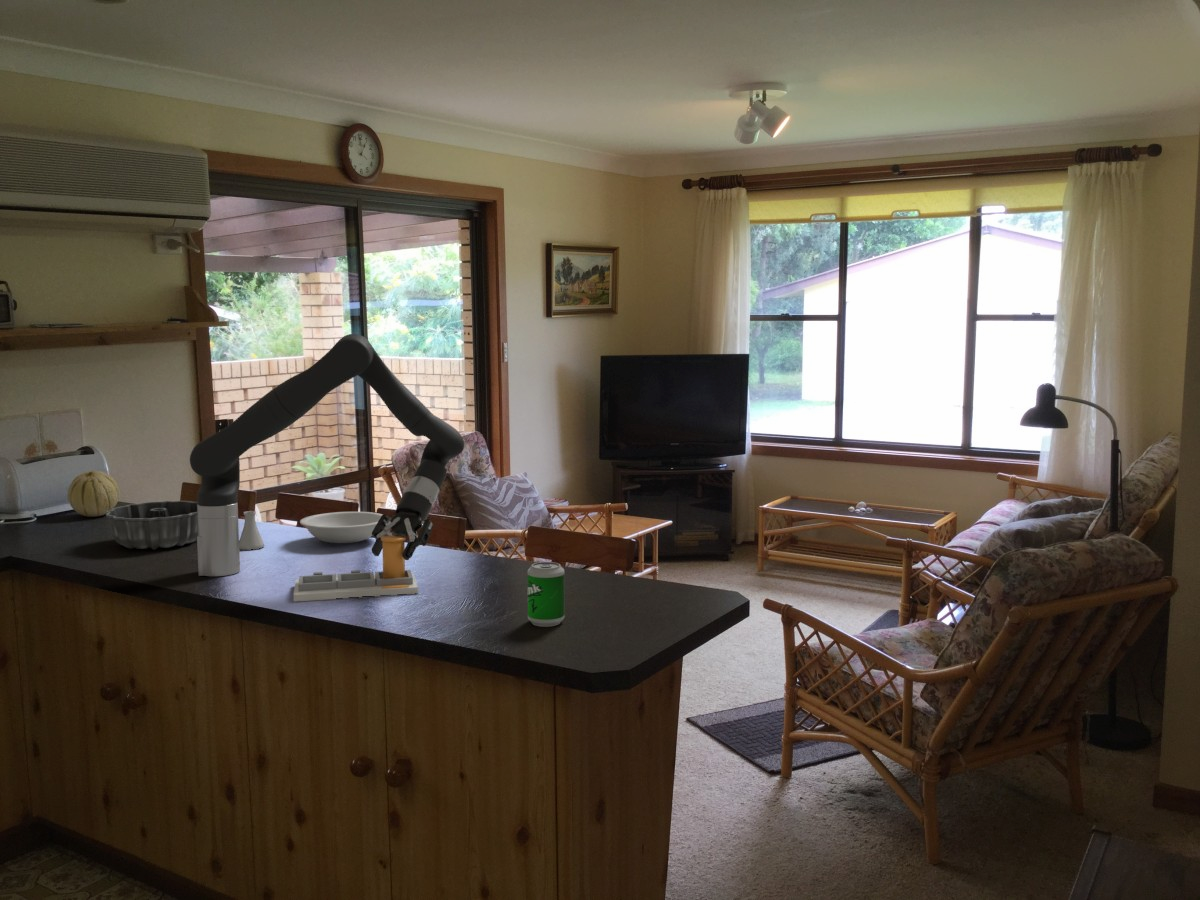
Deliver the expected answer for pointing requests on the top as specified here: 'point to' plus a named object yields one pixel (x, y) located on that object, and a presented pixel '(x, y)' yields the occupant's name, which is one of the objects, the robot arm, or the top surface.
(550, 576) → the soda can
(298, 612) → the top surface
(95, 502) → the cantaloupe
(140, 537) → the bundt pan
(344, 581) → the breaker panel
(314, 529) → the soup bowl
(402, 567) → the cap
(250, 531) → the flask
